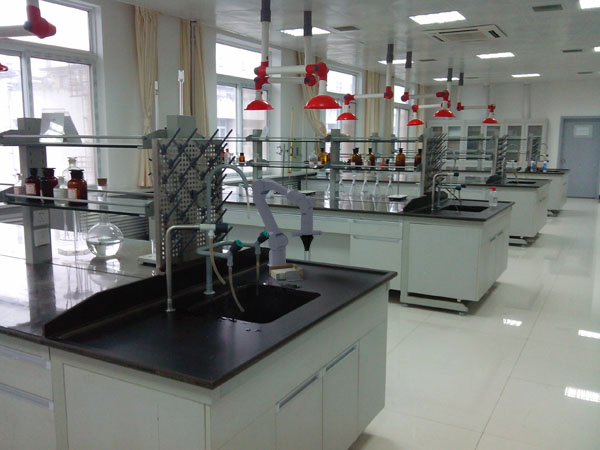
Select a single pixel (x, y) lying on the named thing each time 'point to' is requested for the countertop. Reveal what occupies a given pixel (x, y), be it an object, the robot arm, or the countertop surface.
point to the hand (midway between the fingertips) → (306, 250)
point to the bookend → (293, 275)
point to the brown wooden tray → (286, 268)
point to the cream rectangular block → (280, 273)
